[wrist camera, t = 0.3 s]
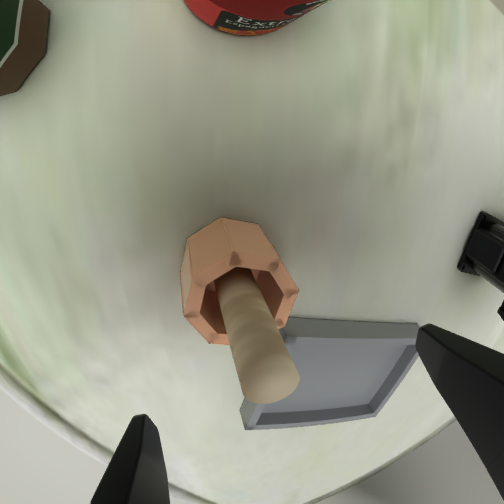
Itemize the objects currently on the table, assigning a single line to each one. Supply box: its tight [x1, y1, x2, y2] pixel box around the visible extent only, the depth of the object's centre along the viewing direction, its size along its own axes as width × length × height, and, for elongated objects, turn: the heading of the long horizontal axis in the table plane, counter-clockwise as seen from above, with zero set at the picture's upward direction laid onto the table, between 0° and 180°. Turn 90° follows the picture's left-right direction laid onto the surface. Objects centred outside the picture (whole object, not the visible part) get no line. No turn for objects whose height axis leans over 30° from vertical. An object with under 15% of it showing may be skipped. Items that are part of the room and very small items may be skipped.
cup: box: [180, 217, 299, 345], centre depth 20 cm, size 6×6×5 cm
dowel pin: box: [214, 267, 300, 404], centre depth 17 cm, size 2×2×10 cm
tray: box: [240, 317, 420, 430], centre depth 29 cm, size 16×12×2 cm
